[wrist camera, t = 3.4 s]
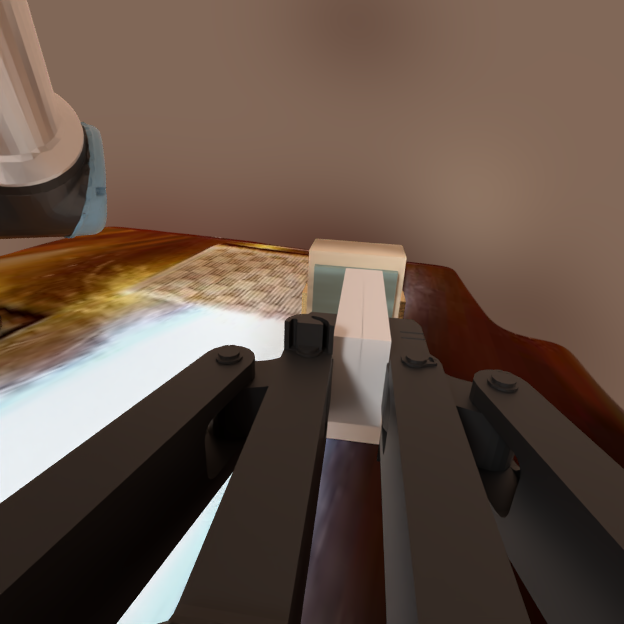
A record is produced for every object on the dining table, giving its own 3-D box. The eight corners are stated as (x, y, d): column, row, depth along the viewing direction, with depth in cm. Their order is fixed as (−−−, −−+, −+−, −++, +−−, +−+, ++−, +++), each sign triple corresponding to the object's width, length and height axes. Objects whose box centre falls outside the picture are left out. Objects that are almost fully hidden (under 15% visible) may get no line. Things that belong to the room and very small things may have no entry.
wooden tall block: (386, 402, 32) (407, 260, 28) (301, 392, 33) (308, 252, 28) (384, 373, 36) (402, 245, 32) (309, 364, 37) (315, 238, 32)
